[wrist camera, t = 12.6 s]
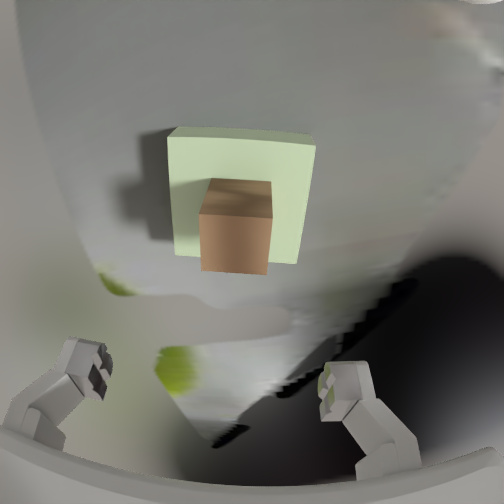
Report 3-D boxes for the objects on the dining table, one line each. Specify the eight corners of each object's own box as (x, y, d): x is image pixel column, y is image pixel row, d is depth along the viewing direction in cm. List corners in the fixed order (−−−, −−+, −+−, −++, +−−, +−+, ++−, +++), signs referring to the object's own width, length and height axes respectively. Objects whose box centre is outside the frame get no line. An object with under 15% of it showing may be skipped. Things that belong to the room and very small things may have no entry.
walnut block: (211, 227, 29) (201, 270, 24) (211, 178, 26) (198, 214, 21) (266, 231, 29) (266, 274, 24) (271, 181, 26) (272, 218, 21)
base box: (183, 233, 34) (175, 255, 31) (179, 125, 27) (167, 136, 24) (293, 240, 34) (296, 263, 31) (309, 133, 27) (316, 145, 24)
